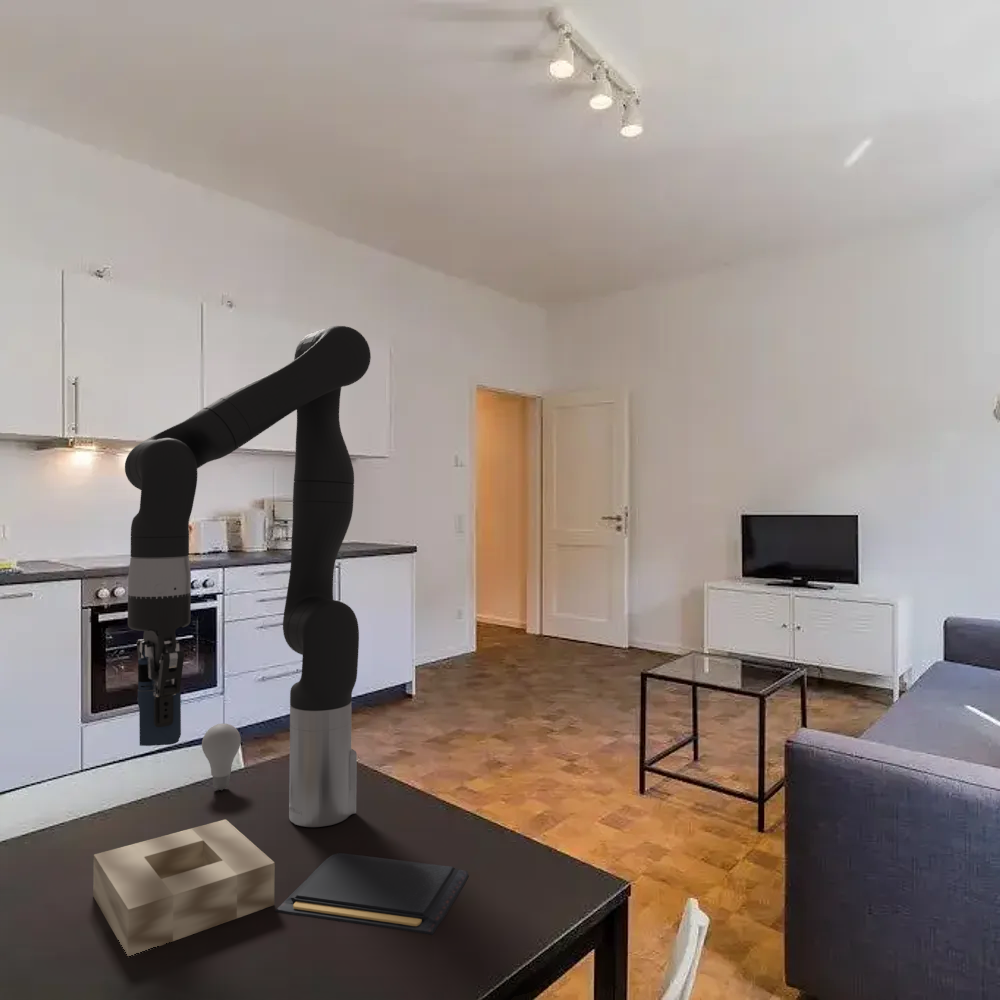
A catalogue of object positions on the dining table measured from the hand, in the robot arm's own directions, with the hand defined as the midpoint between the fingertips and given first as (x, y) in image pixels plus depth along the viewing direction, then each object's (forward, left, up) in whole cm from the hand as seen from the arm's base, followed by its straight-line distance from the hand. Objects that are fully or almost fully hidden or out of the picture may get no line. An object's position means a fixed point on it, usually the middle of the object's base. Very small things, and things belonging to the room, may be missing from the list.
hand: (158, 721), depth 97 cm
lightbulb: (-16, -21, -19) cm, 33 cm away
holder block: (0, +11, -19) cm, 22 cm away
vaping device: (0, 0, -3) cm, 3 cm away
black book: (-19, +23, -20) cm, 36 cm away
